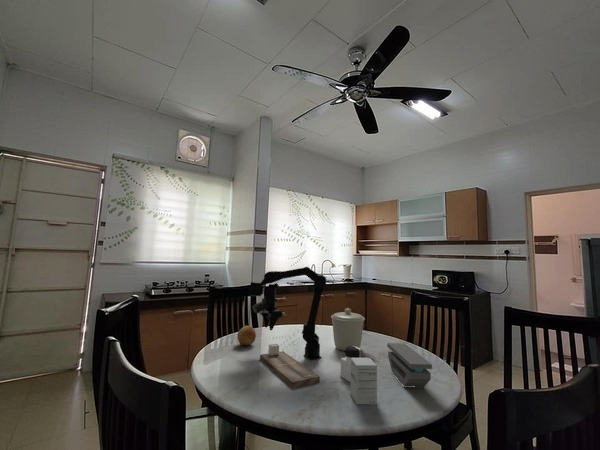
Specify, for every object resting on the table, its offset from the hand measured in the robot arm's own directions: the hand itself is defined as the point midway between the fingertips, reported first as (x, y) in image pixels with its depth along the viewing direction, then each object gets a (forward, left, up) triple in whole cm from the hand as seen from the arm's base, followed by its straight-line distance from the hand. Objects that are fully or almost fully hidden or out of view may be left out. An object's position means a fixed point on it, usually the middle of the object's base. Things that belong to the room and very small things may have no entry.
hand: (268, 328), depth 140 cm
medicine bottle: (-20, +40, -12) cm, 46 cm away
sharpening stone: (-39, +51, -12) cm, 66 cm away
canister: (-42, +10, -12) cm, 45 cm away
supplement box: (-12, +55, -12) cm, 58 cm away
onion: (+5, -17, -12) cm, 22 cm away
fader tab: (0, +7, -10) cm, 12 cm away
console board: (0, +21, -12) cm, 24 cm away
